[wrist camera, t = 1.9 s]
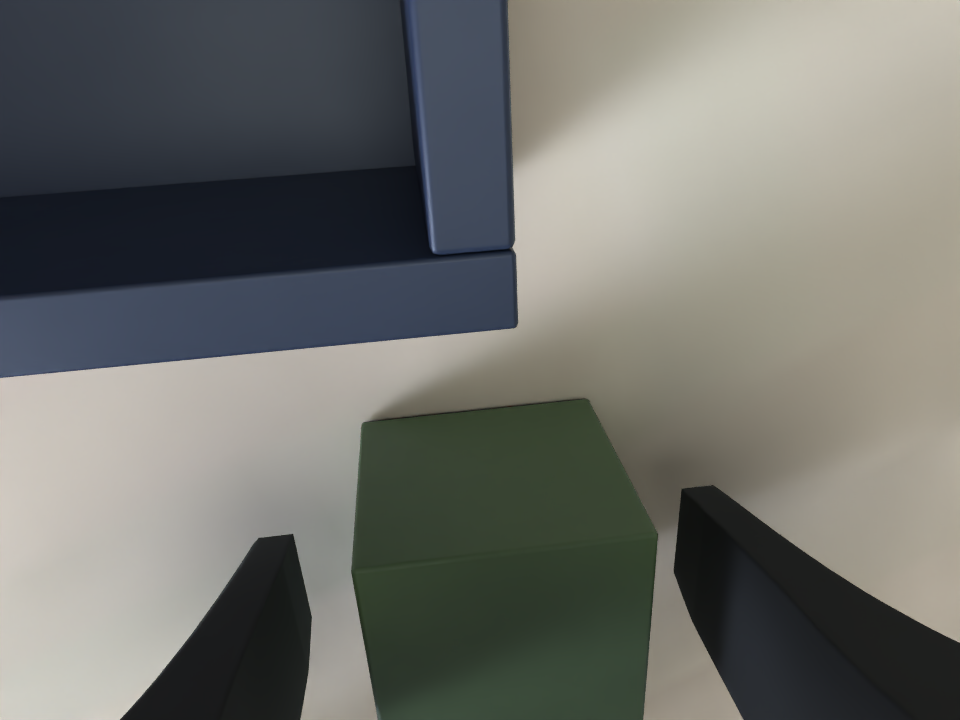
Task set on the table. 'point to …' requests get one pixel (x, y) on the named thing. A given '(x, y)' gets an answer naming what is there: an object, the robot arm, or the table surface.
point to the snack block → (502, 567)
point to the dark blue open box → (250, 177)
